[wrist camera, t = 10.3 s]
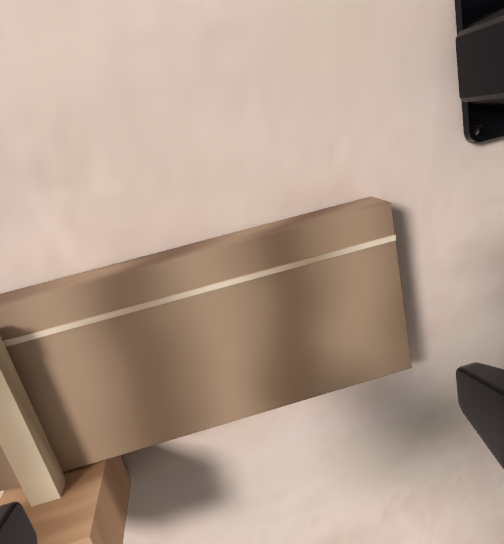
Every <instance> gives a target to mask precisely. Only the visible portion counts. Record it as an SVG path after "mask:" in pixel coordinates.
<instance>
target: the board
mask: <svg viewBox="0 0 504 544" xmlns="http://www.w3.org/2000/svg"><path fill="white" fill-rule="evenodd" d="M0 336H1V338H2V341H3V343H4V345H5V347H6V349H7V352H8V354H9V356H10V358H11V360H12V363H13V365H14V367H15V369H16V371H17V373H18V376H19V378H20V380H21V382H22V384H23V387H24V389H25V391H26V393H27V395H28V398H29V400H30V402H31V404H32V406H33V408H34V411H35V413H36V415H37V417H38V419H39V422H40V424H41V426H42V428H43V430H44V433H45V435H46V437H47V439H48V441H49V443H50V446H51V448H52V450H53V452H54V454H55V457H56V459H57V461H58V463H59V465H60V468H61V470H62V472H66V471H69V470H72V469H76V468H79V467H82V466H86V465H89V464H92V463H96V462H99V461H102V460H106V459H109V458H112V457H116V456H119V455H122V454H126V453H129V452H132V451H136V450H139V449H142V448H146V447H149V446H152V445H156V444H159V443H162V442H166V441H169V440H172V439H176V438H179V437H182V436H186V435H189V434H192V433H196V432H199V431H202V430H206V429H209V428H212V427H216V426H219V425H222V424H226V423H229V422H232V421H236V420H239V419H242V418H246V417H249V416H252V415H256V414H259V413H262V412H266V411H269V410H272V409H276V408H279V407H282V406H286V405H289V404H292V403H296V402H299V401H302V400H306V399H309V398H312V397H316V396H319V395H322V394H326V393H329V392H332V391H336V390H339V389H342V388H346V387H349V386H352V385H356V384H359V383H362V382H366V381H369V380H372V379H376V378H379V377H382V376H386V375H389V374H392V373H396V372H399V371H402V370H406V369H409V368H412V366H411V359H410V351H409V343H408V335H407V327H406V319H405V311H404V303H403V296H402V288H401V280H400V272H399V264H398V256H397V248H396V235H395V233H394V225H393V217H392V209H391V203H389V202H386V201H383V200H380V199H377V198H373V197H368V198H364V199H360V200H356V201H353V202H349V203H345V204H341V205H337V206H333V207H330V208H326V209H322V210H318V211H314V212H311V213H307V214H303V215H299V216H295V217H292V218H288V219H284V220H280V221H276V222H273V223H269V224H265V225H261V226H257V227H254V228H250V229H246V230H242V231H238V232H235V233H231V234H227V235H223V236H219V237H216V238H212V239H208V240H204V241H200V242H197V243H193V244H189V245H185V246H181V247H178V248H174V249H170V250H166V251H162V252H159V253H155V254H151V255H147V256H143V257H140V258H136V259H132V260H128V261H124V262H121V263H117V264H113V265H109V266H105V267H102V268H98V269H94V270H90V271H86V272H83V273H79V274H75V275H71V276H67V277H64V278H60V279H56V280H52V281H48V282H44V283H41V284H37V285H33V286H29V287H25V288H22V289H18V290H14V291H10V292H6V293H3V294H0ZM19 485H20V483H19V481H18V479H17V477H16V475H15V473H14V471H13V469H12V467H11V465H10V463H9V461H8V459H7V457H6V455H5V453H4V451H3V449H2V447H1V445H0V491H2V490H6V489H9V488H12V487H16V486H19Z"/></svg>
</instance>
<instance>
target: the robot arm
mask: <svg viewBox="0 0 504 544" xmlns="http://www.w3.org/2000/svg"><path fill="white" fill-rule="evenodd" d="M455 11H456V26H457V37H456V52H457V66H458V80H459V95H460V98H461V99H462V112H463V126H464V135H465V138H466V139H467V140H468V141H470V142H482V141H486V140H489V139H493V138H497V137H501V136H504V0H455ZM476 126H479V133H478V134H477V135H475V132H474V131H475V128H476ZM456 381H457V392H458V402H459V405H460V408H461V410H462V412H463V413H464V415H465V416H466V417H467V419H468V420H469V422H470V423H471V424H472V426H473V427H474V429H475V430H476V431H477V433H478V434H479V436H480V437H481V438H482V440H483V441H484V443H485V444H486V445H487V447H488V448H489V450H490V451H491V452H492V454H493V455H494V457H495V458H496V459H497V461H498V462H499V464H500V465H501V466H502V468H503V469H504V369H500V368H496V367H492V366H489V365H485V364H481V363H471V364H468V365H464V366H461V367H459V368H458V369H457V371H456ZM0 544H37V535H36V532H35V529H34V527H33V525H32V523H31V521H30V519H29V517H28V516H27V514H26V512H25V510H24V508H23V506H22V505H21V504H20V503H19V502H16V501H14V502H11V503H7V504H4V505H1V506H0Z"/></svg>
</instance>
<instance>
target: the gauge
mask: <svg viewBox="0 0 504 544" xmlns="http://www.w3.org/2000/svg"><path fill="white" fill-rule="evenodd" d="M0 445H1V447H2V449H3V451H4V453H5V455H6V457H7V459H8V461H9V463H10V465H11V467H12V469H13V471H14V473H15V475H16V477H17V479H18V481H19V483H20V485H19V486H16V487H12V488H9V489H6V490H4V493H3V495H2V497H1V499H0V506H1V505H4V504H7V503H11V502H14V501H16V502H19V503H20V504H21V505H22V506H23V508H24V510H25V512H26V514H27V516H28V517H29V519H30V521H31V523H32V525H33V527H34V529H35V532H36V535H37V544H123V537H124V529H125V521H126V514H127V506H128V498H129V490H130V483H131V480H130V477H129V475H128V472H127V470H126V467H125V465H124V462H123V460H122V457H121V455H119V456H116V457H112V458H109V459H106V460H102V461H99V462H96V463H92V464H89V465H86V466H82V467H79V468H76V469H72V470H69V471H66V472H62V470H61V468H60V465H59V463H58V461H57V459H56V457H55V454H54V452H53V450H52V448H51V446H50V443H49V441H48V439H47V437H46V435H45V433H44V430H43V428H42V426H41V424H40V422H39V419H38V417H37V415H36V413H35V411H34V408H33V406H32V404H31V402H30V400H29V398H28V395H27V393H26V391H25V389H24V387H23V384H22V382H21V380H20V378H19V376H18V373H17V371H16V369H15V367H14V365H13V363H12V360H11V358H10V356H9V354H8V352H7V349H6V347H5V345H4V343H3V341H2V338H1V336H0Z"/></svg>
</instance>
